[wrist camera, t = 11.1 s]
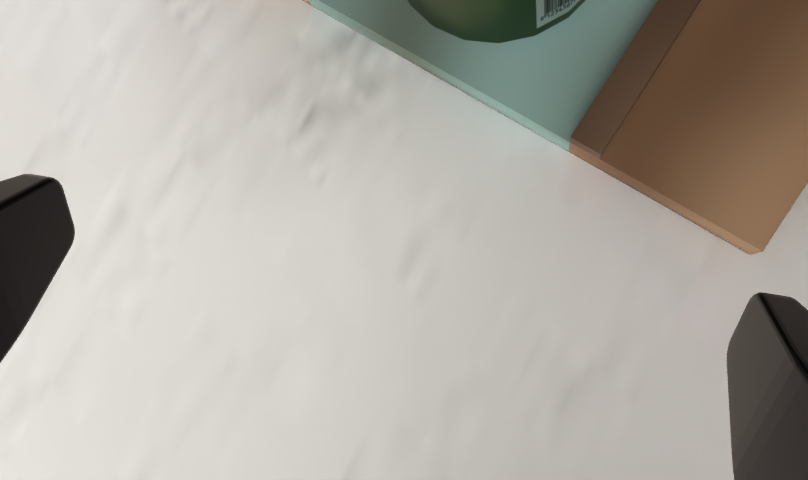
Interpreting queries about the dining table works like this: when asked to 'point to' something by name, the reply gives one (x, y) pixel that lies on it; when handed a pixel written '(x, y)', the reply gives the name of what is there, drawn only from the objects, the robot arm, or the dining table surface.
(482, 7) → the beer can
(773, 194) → the board
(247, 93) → the dining table surface
